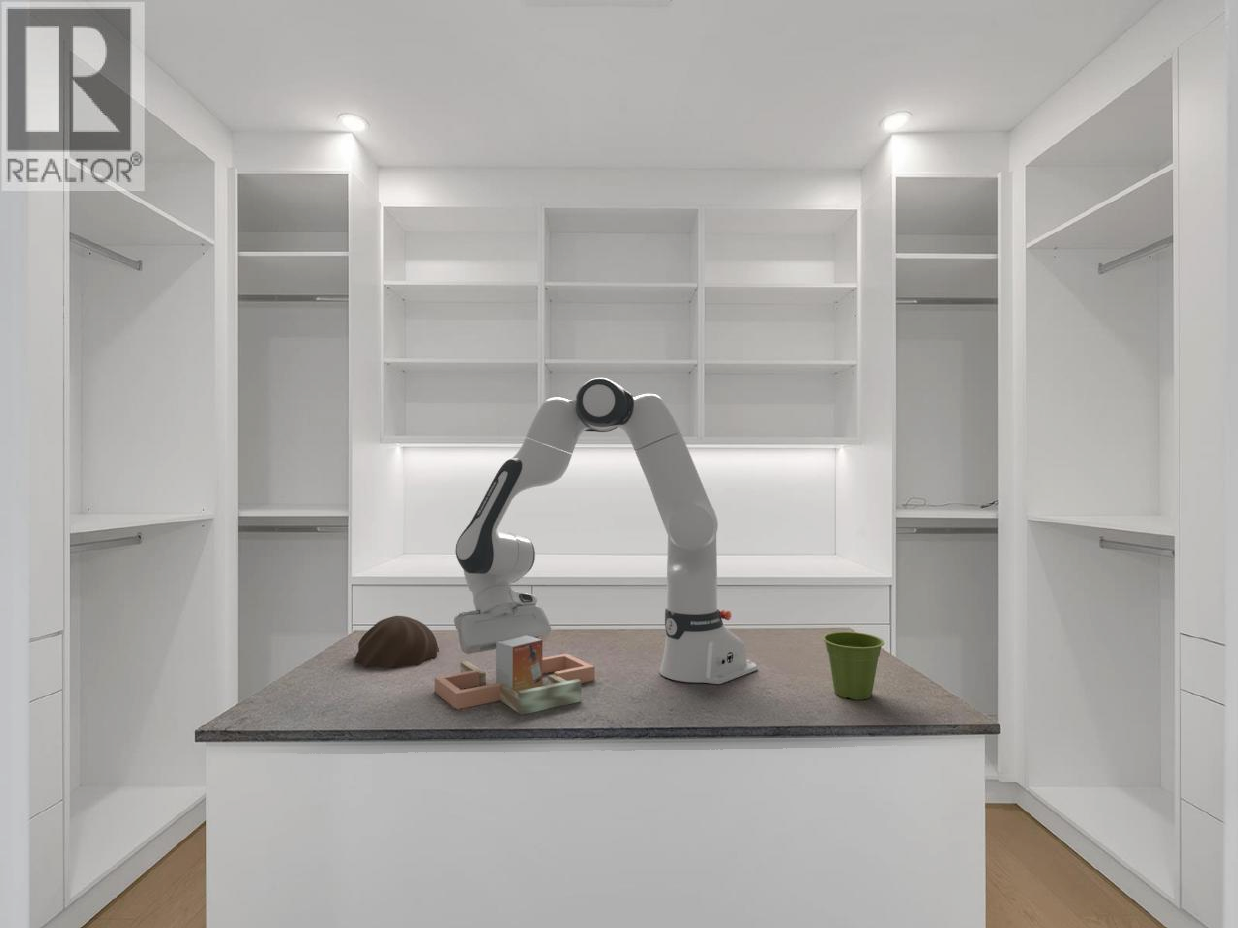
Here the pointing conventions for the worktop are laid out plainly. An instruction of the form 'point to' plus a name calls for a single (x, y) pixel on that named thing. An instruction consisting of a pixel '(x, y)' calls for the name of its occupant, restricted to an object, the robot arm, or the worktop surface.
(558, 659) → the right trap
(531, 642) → the small box
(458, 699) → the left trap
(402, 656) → the decorative dome
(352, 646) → the worktop surface
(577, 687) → the trap lane
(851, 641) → the plant pot
